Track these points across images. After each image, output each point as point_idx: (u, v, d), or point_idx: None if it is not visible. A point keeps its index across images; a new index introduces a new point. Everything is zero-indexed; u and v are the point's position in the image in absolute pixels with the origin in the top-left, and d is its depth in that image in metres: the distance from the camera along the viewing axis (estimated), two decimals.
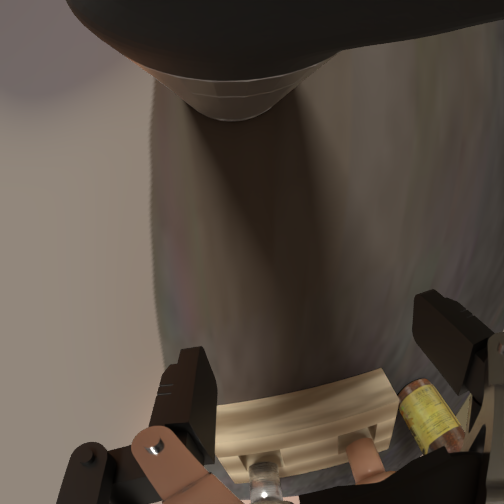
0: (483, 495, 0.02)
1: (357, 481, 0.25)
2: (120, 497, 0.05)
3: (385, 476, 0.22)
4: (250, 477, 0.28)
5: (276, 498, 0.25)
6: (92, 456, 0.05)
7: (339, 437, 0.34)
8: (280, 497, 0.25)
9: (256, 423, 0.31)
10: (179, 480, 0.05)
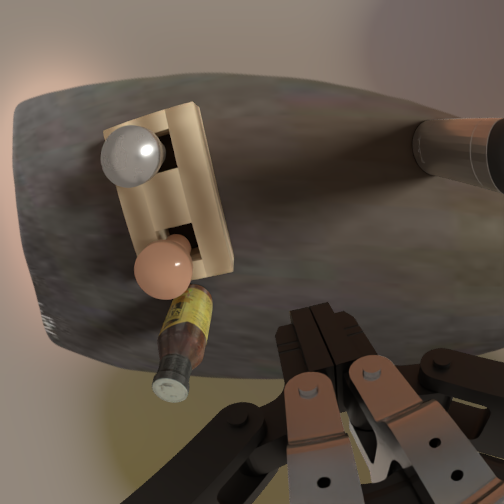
0: None
1: None
2: (249, 466, 0.06)
3: (192, 270, 0.31)
4: None
5: None
6: (244, 417, 0.06)
7: (161, 232, 0.40)
8: None
9: (204, 145, 0.36)
10: (314, 430, 0.06)
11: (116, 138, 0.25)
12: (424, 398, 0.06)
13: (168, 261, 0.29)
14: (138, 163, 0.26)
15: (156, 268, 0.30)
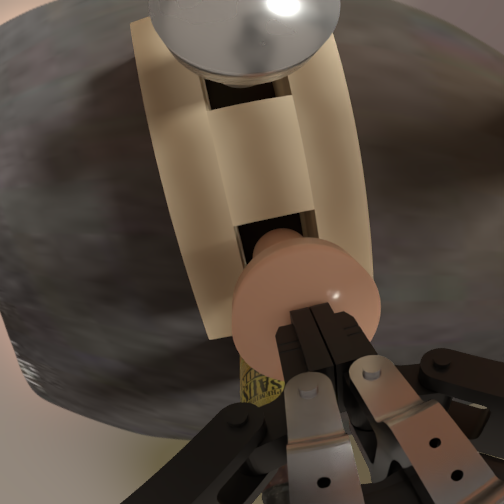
0: None
1: None
2: (249, 466, 0.06)
3: None
4: None
5: None
6: (244, 417, 0.06)
7: (236, 228, 0.21)
8: None
9: None
10: (314, 430, 0.06)
11: None
12: (424, 398, 0.06)
13: (334, 295, 0.11)
14: (279, 10, 0.07)
15: None
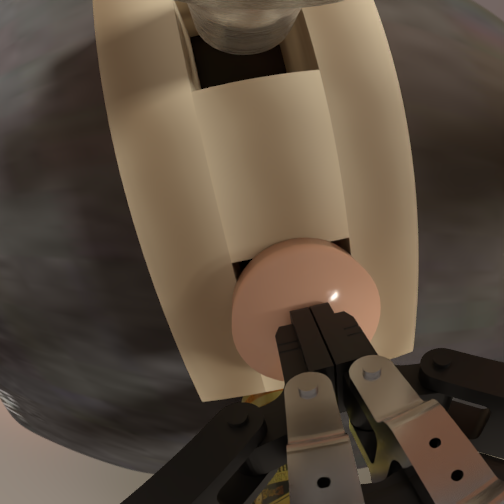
0: None
1: None
2: (249, 466, 0.06)
3: None
4: None
5: None
6: (244, 417, 0.06)
7: None
8: None
9: None
10: (313, 430, 0.06)
11: None
12: (424, 398, 0.06)
13: (334, 295, 0.11)
14: None
15: None
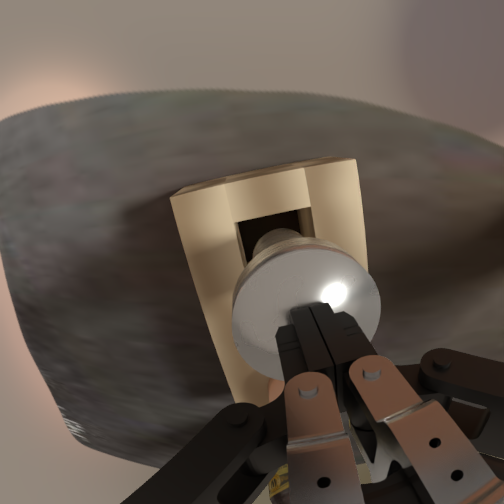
0: None
1: None
2: (249, 466, 0.06)
3: None
4: None
5: None
6: (244, 417, 0.06)
7: None
8: None
9: None
10: (314, 430, 0.06)
11: (281, 282, 0.11)
12: (424, 398, 0.06)
13: None
14: None
15: None
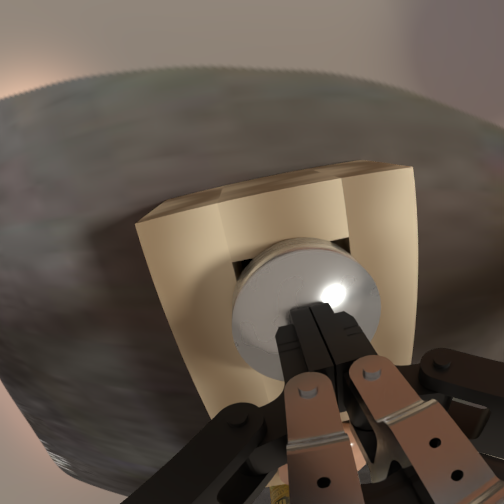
0: None
1: None
2: (249, 466, 0.06)
3: None
4: None
5: None
6: (244, 417, 0.06)
7: None
8: None
9: None
10: (313, 430, 0.06)
11: (282, 282, 0.11)
12: (424, 398, 0.06)
13: None
14: None
15: None
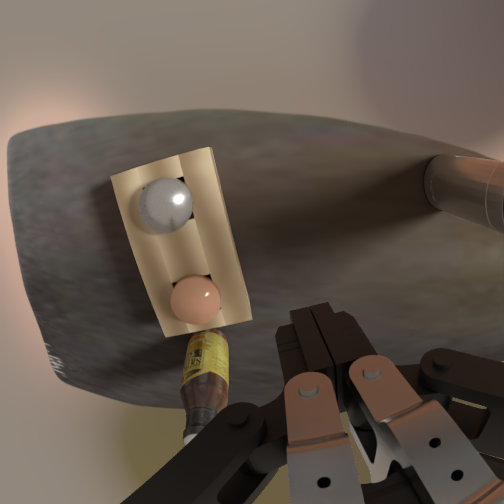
0: None
1: None
2: (249, 466, 0.06)
3: None
4: None
5: None
6: (244, 417, 0.06)
7: None
8: None
9: (220, 192, 0.36)
10: (314, 430, 0.06)
11: (153, 189, 0.31)
12: (424, 398, 0.06)
13: (201, 293, 0.35)
14: (174, 212, 0.32)
15: (190, 299, 0.35)
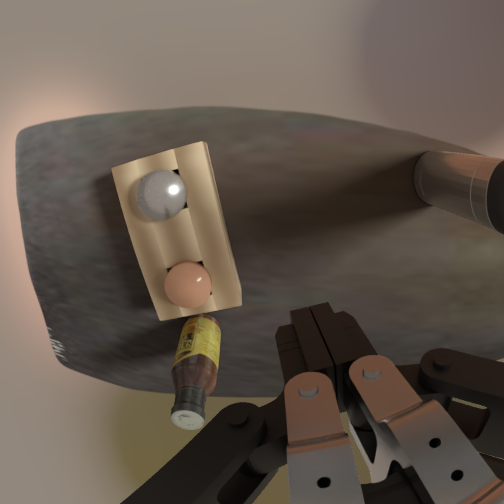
0: None
1: None
2: (249, 466, 0.06)
3: (211, 285, 0.39)
4: None
5: None
6: (244, 417, 0.06)
7: (171, 266, 0.42)
8: None
9: (213, 183, 0.38)
10: (314, 430, 0.06)
11: (149, 180, 0.33)
12: (424, 398, 0.06)
13: (193, 278, 0.38)
14: (168, 201, 0.34)
15: (183, 284, 0.38)
